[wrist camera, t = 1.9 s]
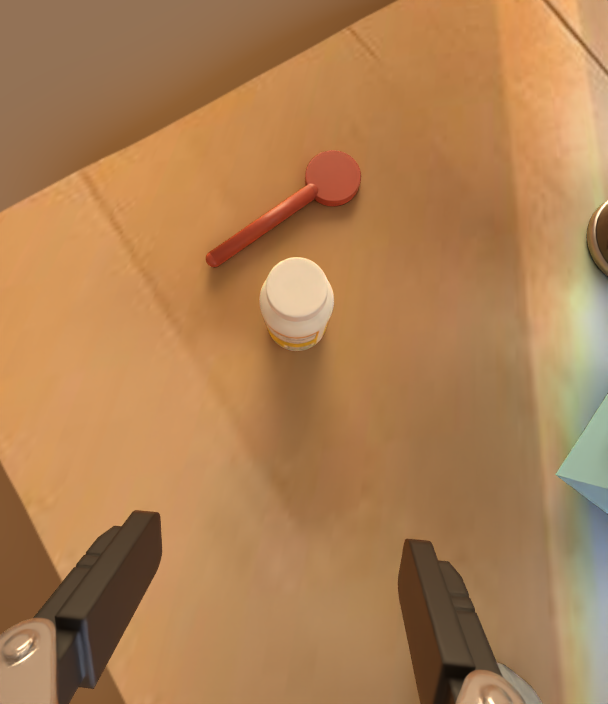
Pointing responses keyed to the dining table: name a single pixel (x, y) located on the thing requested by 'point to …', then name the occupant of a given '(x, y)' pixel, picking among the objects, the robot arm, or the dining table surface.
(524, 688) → the moka pot
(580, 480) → the teakettle
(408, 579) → the robot arm
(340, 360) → the dining table surface
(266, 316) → the supplement bottle
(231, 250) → the red spoon
